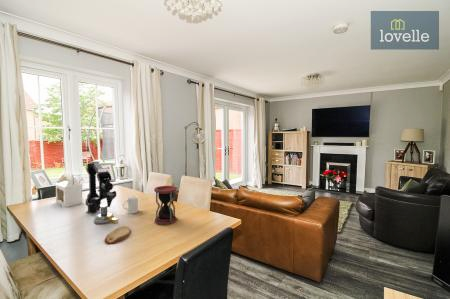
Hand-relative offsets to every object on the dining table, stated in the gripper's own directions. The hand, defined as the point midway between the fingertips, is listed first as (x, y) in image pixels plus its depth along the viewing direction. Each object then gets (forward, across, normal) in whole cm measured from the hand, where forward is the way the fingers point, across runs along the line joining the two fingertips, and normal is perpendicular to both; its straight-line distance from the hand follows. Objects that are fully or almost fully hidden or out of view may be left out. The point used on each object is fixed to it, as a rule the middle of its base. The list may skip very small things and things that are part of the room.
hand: (104, 209), depth 160 cm
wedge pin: (+7, 0, 0) cm, 7 cm away
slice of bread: (+10, -16, -27) cm, 33 cm away
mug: (+9, +21, -6) cm, 24 cm away
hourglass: (+9, +14, -43) cm, 46 cm away
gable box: (+9, +23, +63) cm, 68 cm away
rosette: (+9, 0, -2) cm, 9 cm away
